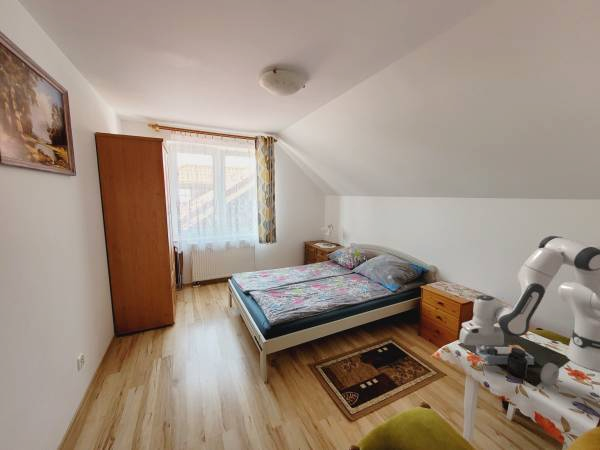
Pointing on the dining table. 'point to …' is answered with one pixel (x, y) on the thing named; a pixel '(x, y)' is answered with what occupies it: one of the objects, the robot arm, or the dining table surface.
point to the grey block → (498, 351)
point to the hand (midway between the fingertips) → (480, 351)
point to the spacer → (515, 347)
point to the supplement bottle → (517, 363)
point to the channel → (501, 357)
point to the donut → (549, 374)
